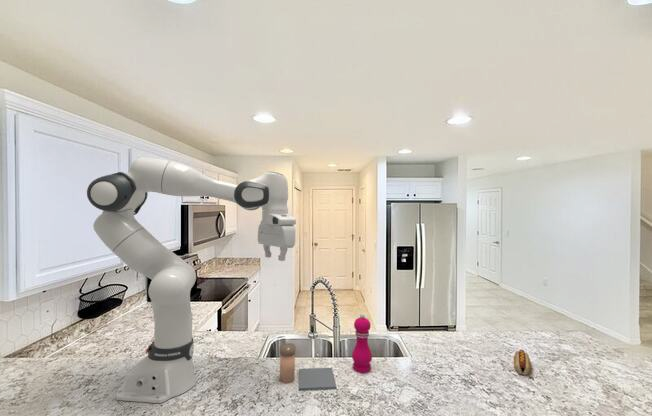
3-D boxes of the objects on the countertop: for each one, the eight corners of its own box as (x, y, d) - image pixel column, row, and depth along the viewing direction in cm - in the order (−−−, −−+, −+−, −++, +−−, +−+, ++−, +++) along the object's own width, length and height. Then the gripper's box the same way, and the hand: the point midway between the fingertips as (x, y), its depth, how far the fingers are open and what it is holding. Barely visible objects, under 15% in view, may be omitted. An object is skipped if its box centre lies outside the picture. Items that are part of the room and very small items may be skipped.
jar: (278, 384, 99) (279, 350, 100) (279, 375, 105) (280, 343, 105) (295, 383, 100) (295, 350, 100) (295, 374, 105) (295, 343, 106)
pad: (299, 390, 96) (299, 388, 96) (298, 371, 108) (298, 368, 108) (336, 389, 97) (336, 386, 97) (331, 369, 109) (332, 367, 109)
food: (532, 379, 105) (532, 364, 105) (513, 374, 107) (513, 360, 108) (530, 362, 116) (530, 349, 116) (513, 359, 119) (513, 346, 119)
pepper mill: (371, 375, 106) (371, 317, 106) (350, 372, 107) (351, 316, 108) (372, 365, 113) (372, 311, 113) (353, 362, 114) (353, 309, 115)
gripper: (253, 218, 110) (253, 256, 110) (282, 219, 95) (281, 263, 94) (268, 218, 114) (268, 254, 114) (298, 219, 99) (298, 261, 98)
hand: (274, 258), depth 104 cm, fingers open, 8 cm apart
